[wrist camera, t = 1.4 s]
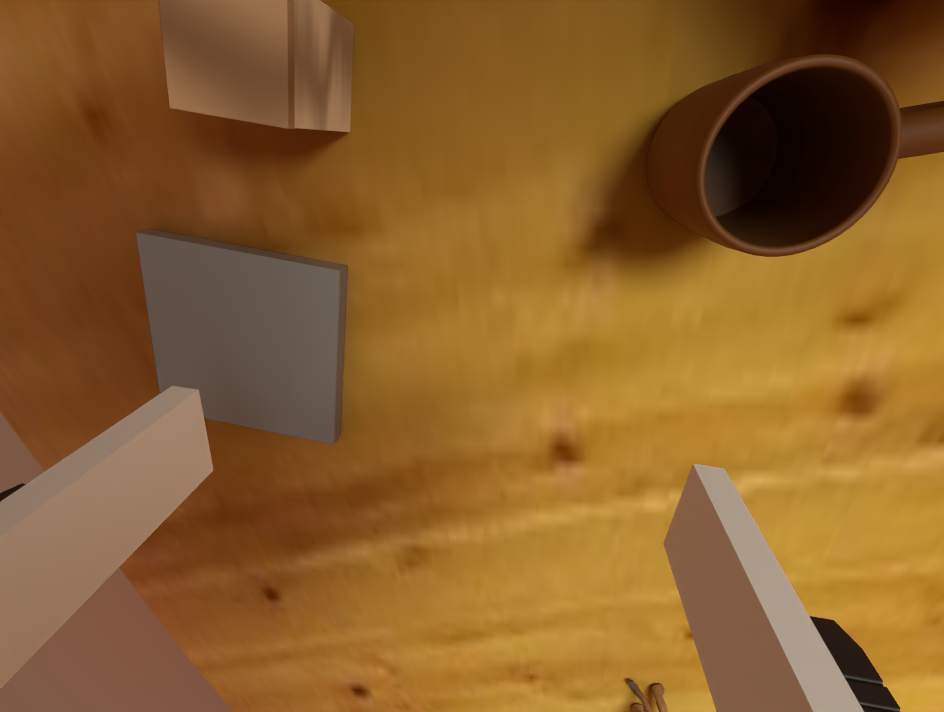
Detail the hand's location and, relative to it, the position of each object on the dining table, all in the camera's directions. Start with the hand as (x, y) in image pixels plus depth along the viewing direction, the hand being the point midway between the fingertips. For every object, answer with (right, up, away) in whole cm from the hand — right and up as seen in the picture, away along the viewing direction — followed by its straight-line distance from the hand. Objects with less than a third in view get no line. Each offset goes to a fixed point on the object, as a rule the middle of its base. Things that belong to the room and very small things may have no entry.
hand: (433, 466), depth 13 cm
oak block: (-9, +20, +15) cm, 26 cm away
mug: (+17, +15, +14) cm, 26 cm away
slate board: (-15, +4, +22) cm, 27 cm away
